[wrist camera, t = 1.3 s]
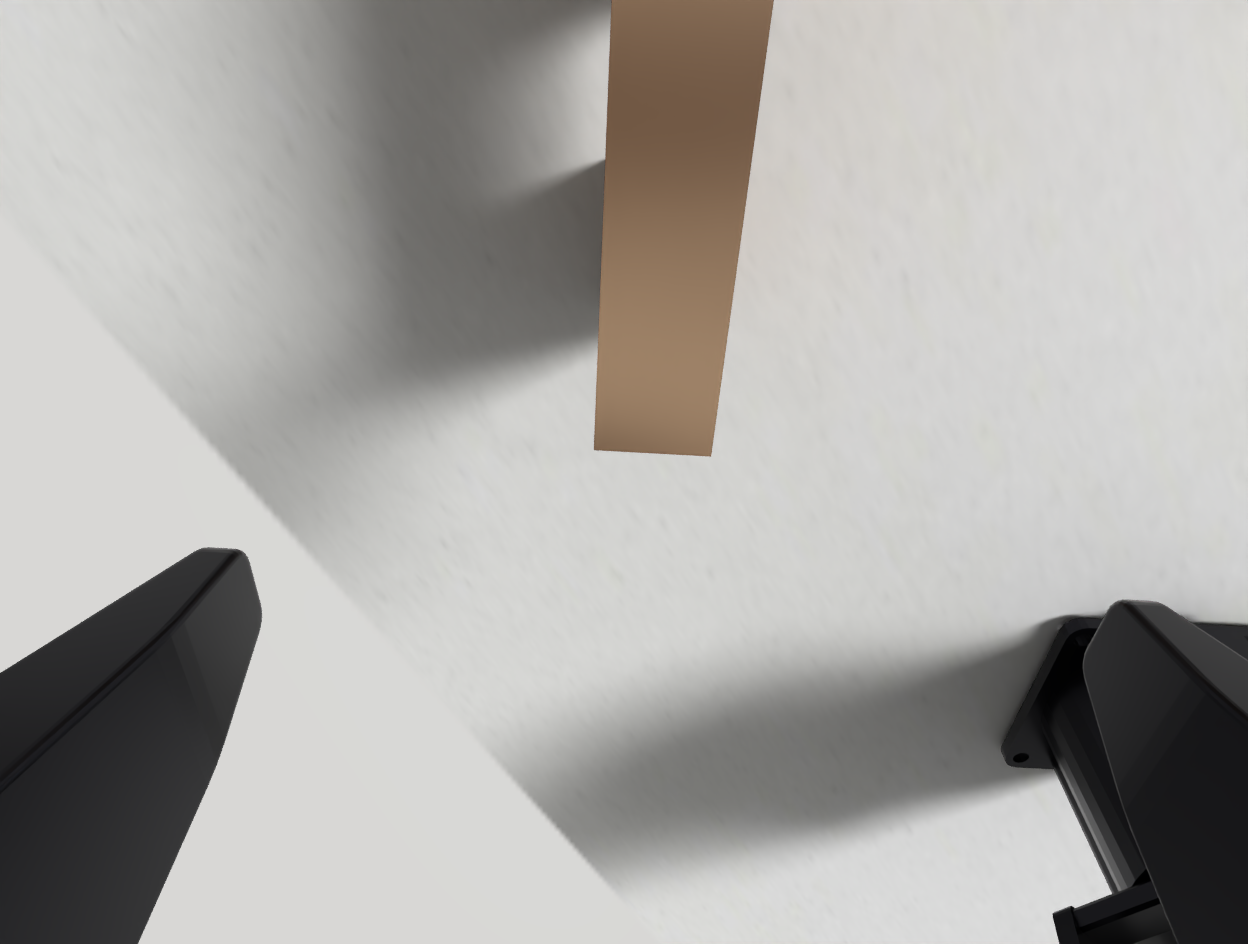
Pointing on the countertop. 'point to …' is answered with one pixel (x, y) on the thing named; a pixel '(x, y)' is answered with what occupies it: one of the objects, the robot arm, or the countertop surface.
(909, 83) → the countertop surface
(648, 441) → the walnut slot plate
